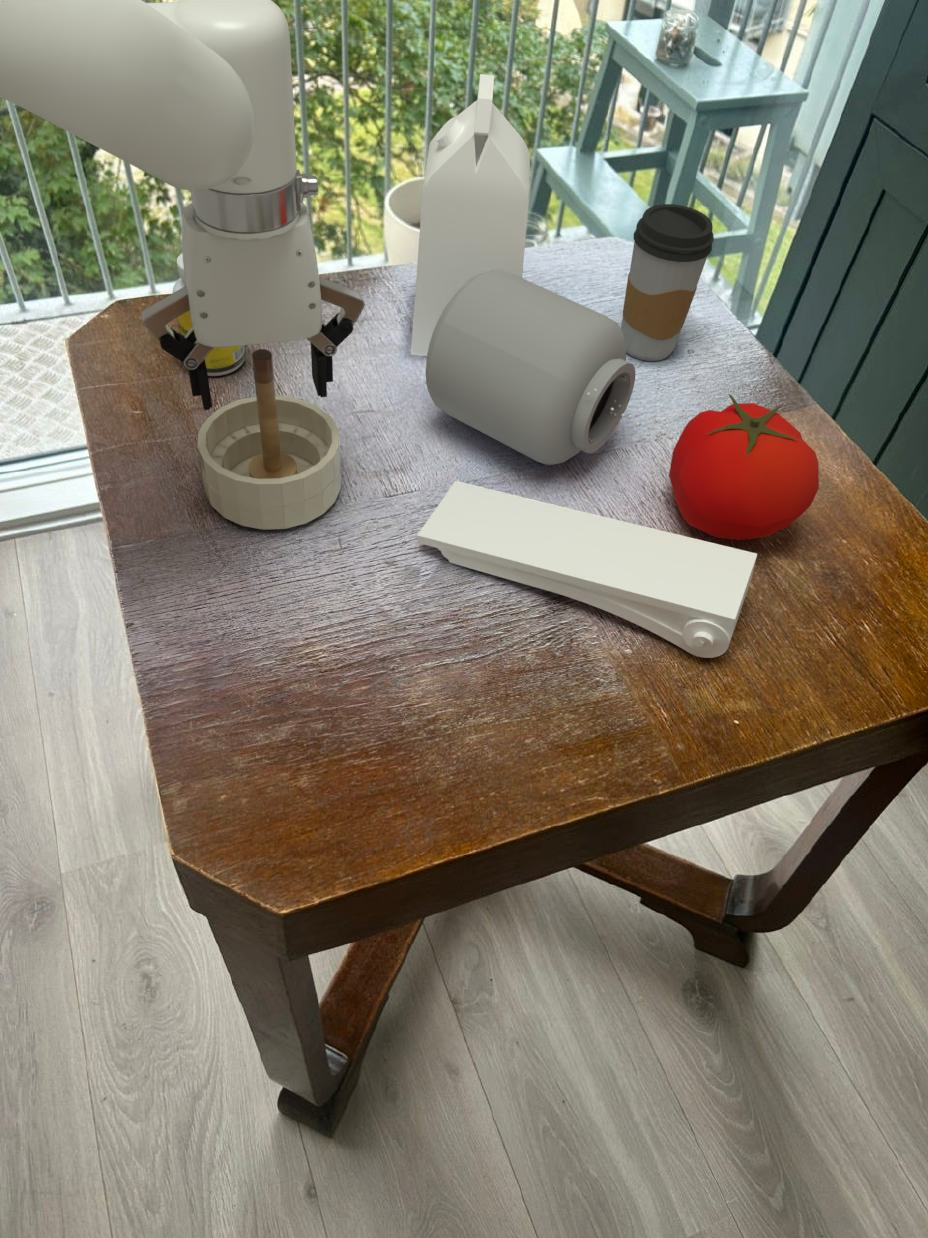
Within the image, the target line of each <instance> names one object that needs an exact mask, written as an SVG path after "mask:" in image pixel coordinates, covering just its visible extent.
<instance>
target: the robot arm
mask: <svg viewBox="0 0 928 1238" xmlns="http://www.w3.org/2000/svg"><path fill="white" fill-rule="evenodd" d="M293 87H294V86H293V69H292V50H291V36H290V27H289V22H288V20H287V18H286V15H285V13H284V12H283V10H282V9H281V7H279V5H278V4H277V3H275V2H274V1H273V0H175V1H164V2H163V1H162V2H146V1H144V0H0V98H1V99H4V100H6V101H8V102H10V103H12V104H14V105H16V106H18V107H20V108H22V109H24V110H26V111H28V112H30V113H32V114H34V115H35V116H37V117H39V118H42V119H43V120H45V121H47V122H49V123H51V124H53V125H55V126H56V127H58V128H60V129H63V130H64V131H67V132H68V133H70V134H72V135H74V136H76V137H78V138H79V139H81V140H83V141H85V142H87V143H89V144H91V145H92V146H95V147H96V148H98V149H100V150H102V151H104V152H106V153H108V154H110V155H112V156H114V157H116V158H118V159H120V160H121V161H124V162H126V163H127V164H129V165H131V166H133V167H135V168H137V169H138V170H141V171H142V172H145V173H146V174H148V175H149V176H152V177H154V178H155V179H158V180H159V181H161V182H163V183H165V184H167V185H169V186H171V187H173V188H175V189H180V190H184V191H190V195H191V202H192V203H189V204H188V205H186V206H185V207H184V209H183V213H182V221H181V222H182V223H181V249H182V251H181V253H183V266H184V277H185V287H183V288H181V289H179V290H178V291H176V292H174V293H173V292H172V293H171V294H169V295H167V296H165V297H164V298H162V299H160V300H159V301H157V302H155V303H153V304H152V305H150V306H148V307H146V308H144V309H143V310H142V311H141V319H142V325H143V327H144V328H145V329H146V330H147V332H148V333H149V334H150V335H151V336H152V338H154V340H155V341H157V342H158V344H159V345H160V347H161V349H162V350H163V351H164V352H166V353H168V354H169V355H171V356H172V357H173V358H175V359H177V360H178V361H180V362H181V363H183V366H184V368H185V369H187V370H188V376H189V383H190V389H191V395H192V397H200V398H201V402H202V407H203V411H208V410H209V411H210V410H211V409H212V408H213V404H212V396H211V395H212V394H211V390H210V383H209V376H208V374H207V368H206V363H205V358H206V356H207V355H208V354H209V353H210V351H211V350H212V349H213V347H232V346H243V345H244V346H253V345H254V346H255V345H264V344H273V343H285V342H294V341H303V340H307V341H308V342H309V343H310V359H311V379H312V382H313V384H314V387H315V391H316V395H317V396H318V397H320V398H328V386H327V385H328V384H327V383H332V382H334V371H333V370H334V366H333V365H334V364H333V356H335V355H336V353H337V352H338V347H339V346H340V345H341V344H342V343H343V342H344V341H345V340H346V339H347V338H348V337H349V336H350V335H351V334H352V333H353V331H354V325H355V323H357V321H358V319H359V318H360V316H361V315H362V313H363V310H364V308H365V306H366V304H365V300H364V298H363V296H362V294H361V293H360V292H359V291H356V290H354V289H352V288H348V287H346V286H343V285H341V284H339V283H336V282H334V281H332V280H328V279H326V278H324V277H321V276H320V275H319V265H318V259H317V252H316V248H315V241H314V240H315V239H314V235H313V230H312V225H311V221H310V217H309V213H308V208H307V206H306V204H305V203H304V199H308V198H309V197H310V196H318V195H319V181H318V177H317V175H307V174H306V173H301V172H300V169H298V168H297V167H298V165H297V149H296V147H297V146H296V145H297V144H296V128H295V127H296V125H295V124H296V123H295V108H294V88H293ZM322 301H324V302H327V303H329V304H331V305H334V306H337V307H340V309H339V312H337V313H336V314H335V315H334V316H333V317H332V318H331V319H330V320H329V321H328V322H327V323H324V321H323V305H322V304H323V303H322ZM187 311H189V314H190V317H191V321H192V325H193V326H192V328H191V329H190V330H189V332H188V333H187V334H186V335H185V337H184V336H182V335H181V334H179V331H176V330H175V329H174V328H172V327H170V326H169V324H168V323H170V322H172V321H173V320H175V319H177V317H179V316H180V315H182V314H184V313H185V312H187Z"/></svg>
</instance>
